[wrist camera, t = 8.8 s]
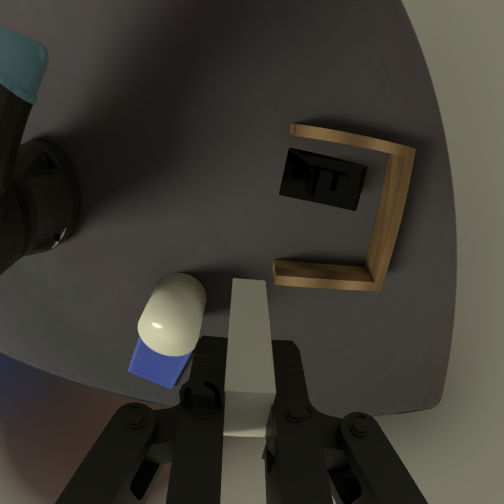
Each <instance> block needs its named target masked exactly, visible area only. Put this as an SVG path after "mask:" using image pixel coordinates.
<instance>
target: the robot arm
mask: <svg viewBox="0 0 504 504" xmlns="http://www.w3.org/2000/svg"><path fill="white" fill-rule="evenodd" d="M48 59H49V56H48V51H47V49H46V47H45V46H44V45H43V44H42V43H40V42H38V41H36V40H34V39H31V38H29V37H27V36H24V35H22V34H19V33H17V32H15V31H12V30H9V29H7V28H4V27H2V26H0V275H1V274H2V273H3V272H5V271H6V270H7V269H8V268H9V267H11V266H12V265H13V264H14V263H15V262H16V261H18V260H19V259H20V258H22V257H24V256H28V255H33V254H37V253H42V252H46V251H49V250H51V249H53V248H55V247H57V246H58V245H59V244H61V243H62V242H63V241H64V240H66V239H67V238H68V237H69V235H70V234H71V233H72V231H73V229H74V227H75V225H76V223H77V220H78V216H79V210H80V191H79V185H78V181H77V178H76V175H75V172H74V170H73V167H72V165H71V164H70V162H69V160H68V159H67V157H66V156H65V155H64V154H63V153H62V152H61V151H60V150H59V149H58V148H57V147H56V146H54V145H52V144H50V143H48V142H45V141H32V142H27V143H23V144H20V143H21V139H22V136H23V133H24V129H25V126H26V123H27V120H28V117H29V114H30V111H31V109H32V106H33V104H35V102H36V101H37V97H36V95H37V92H38V89H39V86H40V84H41V81H42V78H43V75H44V73H45V70H46V68H47V65H48ZM179 395H180V403H179V404H178V405H176V406H174V407H171V408H167V409H160V410H152V409H151V408H150V407H148V406H147V405H145V404H142V403H137V402H135V403H128V404H125V405H123V406H121V407H120V408H119V409H118V410H117V411H116V413H115V414H114V416H113V417H112V418H111V420H110V421H109V423H108V424H107V426H106V427H105V429H104V430H103V432H102V433H101V435H100V436H99V438H98V439H97V441H96V442H95V443H94V445H93V447H92V448H91V449H90V451H89V452H88V454H87V456H86V457H85V458H84V460H83V461H82V463H81V464H80V466H79V467H78V469H77V471H76V472H75V474H74V475H73V477H72V478H71V480H70V481H69V483H68V484H67V486H66V487H65V489H64V490H63V492H62V493H61V495H60V496H59V498H58V500H57V501H56V503H55V504H145V502H146V500H147V498H148V496H149V494H150V492H151V490H152V488H153V486H154V484H155V482H156V480H157V478H158V476H159V474H160V472H161V470H162V468H163V466H164V464H165V463H169V462H172V465H171V471H170V478H169V485H168V491H167V498H166V504H220V494H221V471H222V451H223V435H228V436H247V437H264V436H265V433H266V445H265V448H264V451H263V455H262V459H265V479H266V502H267V504H333V500H332V495H333V498H334V500H335V502H336V504H428V503H427V501H426V499H425V498H424V496H423V495H422V493H421V492H420V490H419V488H418V487H417V485H416V484H415V482H414V480H413V478H412V477H411V475H410V474H409V472H408V470H407V469H406V467H405V466H404V464H403V462H402V461H401V459H400V458H399V456H398V455H397V453H396V451H395V450H394V448H393V447H392V445H391V443H390V442H389V440H388V439H387V437H386V435H385V434H384V432H383V431H382V429H381V428H380V426H379V425H378V423H377V422H376V421H375V419H374V418H373V417H372V416H370V415H368V414H366V413H362V412H354V413H350V414H348V415H346V416H345V417H344V419H342V418H337V417H333V416H328V415H325V414H322V413H321V412H319V411H317V410H316V409H315V408H314V407H313V406H312V404H311V403H310V401H309V398H308V392H307V387H306V382H305V377H304V371H303V366H302V362H301V356H300V351H299V349H298V347H297V346H296V345H295V343H294V342H293V341H286V340H271V334H270V323H269V313H268V303H267V293H266V283H265V281H263V280H250V279H238V278H233V283H232V296H231V308H230V321H229V333H228V338H224V337H212V336H202V337H201V339H200V340H199V341H198V342H197V343H196V346H195V351H194V356H193V362H192V367H191V372H190V378H189V381H187V382H186V383H185V384H183V385H182V387H181V389H180V391H179ZM331 493H332V494H331Z"/></svg>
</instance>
